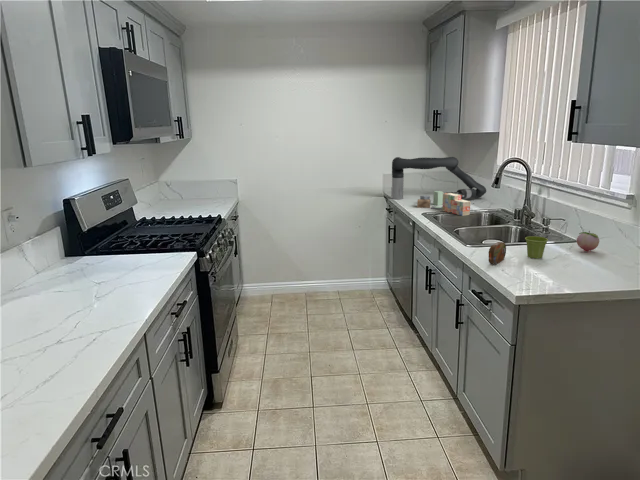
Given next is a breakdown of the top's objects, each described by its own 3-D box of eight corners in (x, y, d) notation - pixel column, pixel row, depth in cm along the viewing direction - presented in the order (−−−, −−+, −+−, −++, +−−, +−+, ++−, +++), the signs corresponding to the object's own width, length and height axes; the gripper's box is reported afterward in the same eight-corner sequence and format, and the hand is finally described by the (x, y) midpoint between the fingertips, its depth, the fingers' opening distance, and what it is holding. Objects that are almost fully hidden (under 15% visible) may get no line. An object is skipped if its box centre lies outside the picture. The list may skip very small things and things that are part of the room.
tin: (493, 266, 189) (495, 248, 187) (486, 265, 191) (487, 246, 189) (506, 258, 200) (507, 240, 198) (499, 257, 202) (500, 239, 200)
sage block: (437, 205, 326) (438, 192, 324) (433, 204, 330) (433, 191, 328) (442, 204, 328) (443, 191, 326) (438, 204, 333) (438, 190, 330)
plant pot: (518, 255, 204) (520, 237, 202) (536, 253, 206) (538, 235, 204) (532, 261, 195) (534, 242, 193) (550, 258, 197) (553, 240, 195)
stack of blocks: (469, 215, 292) (471, 196, 289) (462, 216, 290) (463, 197, 286) (449, 209, 311) (450, 192, 308) (441, 210, 309) (442, 193, 305)
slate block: (424, 204, 332) (424, 196, 330) (420, 203, 336) (420, 195, 335) (429, 203, 334) (429, 196, 333) (425, 202, 338) (425, 195, 337)
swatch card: (431, 208, 315) (431, 207, 315) (431, 207, 321) (432, 206, 321) (444, 209, 312) (444, 208, 312) (444, 207, 318) (444, 206, 318)
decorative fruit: (601, 252, 205) (604, 231, 202) (592, 255, 201) (595, 234, 198) (581, 247, 213) (583, 227, 210) (572, 250, 208) (574, 230, 206)
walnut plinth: (417, 208, 321) (417, 201, 319) (417, 205, 329) (417, 199, 328) (429, 208, 318) (430, 201, 317) (429, 206, 327) (430, 199, 326)
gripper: (457, 187, 344) (441, 189, 337) (471, 190, 331) (454, 192, 325) (457, 197, 346) (440, 199, 339) (470, 200, 333) (454, 202, 326)
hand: (447, 195), depth 332 cm, fingers open, 8 cm apart
